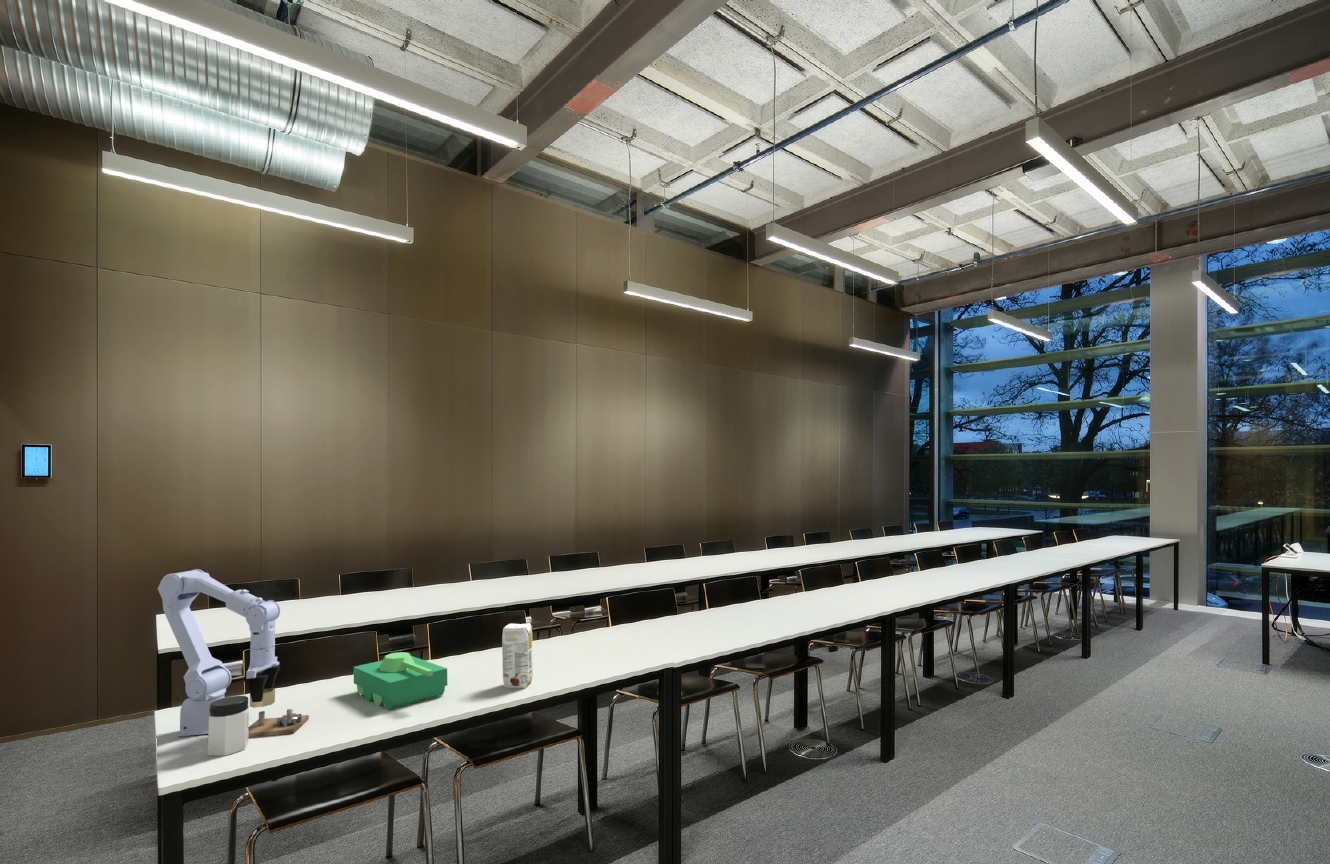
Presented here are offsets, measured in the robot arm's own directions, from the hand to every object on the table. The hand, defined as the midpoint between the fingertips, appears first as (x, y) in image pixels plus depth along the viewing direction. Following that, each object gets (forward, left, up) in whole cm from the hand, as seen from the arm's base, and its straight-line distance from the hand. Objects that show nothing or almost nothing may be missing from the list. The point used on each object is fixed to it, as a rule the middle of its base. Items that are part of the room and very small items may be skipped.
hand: (261, 698), depth 178 cm
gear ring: (0, 0, -2) cm, 2 cm away
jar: (-2, -13, -9) cm, 16 cm away
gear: (+7, 0, -7) cm, 10 cm away
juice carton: (+67, +21, -9) cm, 71 cm away
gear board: (+4, 0, -8) cm, 9 cm away
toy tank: (+33, +19, -9) cm, 39 cm away
